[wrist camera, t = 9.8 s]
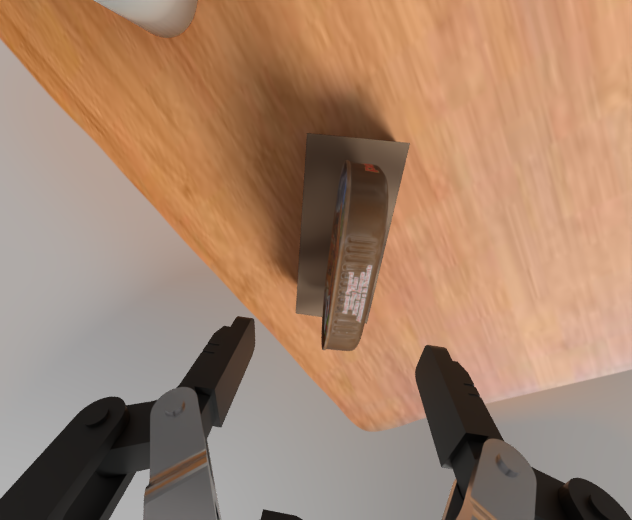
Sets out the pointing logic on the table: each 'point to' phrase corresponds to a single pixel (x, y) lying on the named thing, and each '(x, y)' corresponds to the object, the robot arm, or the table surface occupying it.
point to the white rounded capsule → (155, 14)
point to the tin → (353, 253)
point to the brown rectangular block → (321, 199)
